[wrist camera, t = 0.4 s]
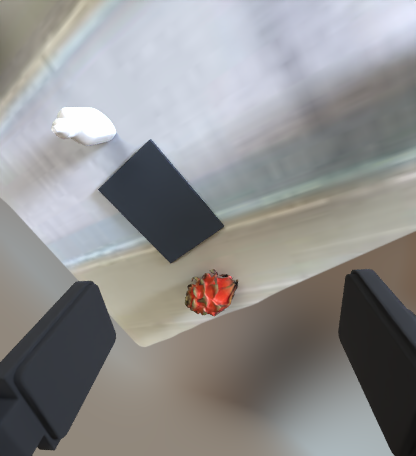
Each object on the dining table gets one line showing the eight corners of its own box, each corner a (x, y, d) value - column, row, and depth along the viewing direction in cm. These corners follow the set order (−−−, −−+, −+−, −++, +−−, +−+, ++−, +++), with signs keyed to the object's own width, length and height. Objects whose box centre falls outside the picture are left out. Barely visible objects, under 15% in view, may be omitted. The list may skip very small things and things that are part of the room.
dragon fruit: (185, 284, 56) (232, 262, 54) (199, 321, 54) (249, 299, 52) (170, 286, 48) (226, 260, 46) (186, 329, 46) (245, 303, 44)
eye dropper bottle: (97, 145, 43) (51, 156, 32) (82, 110, 41) (27, 110, 30) (119, 138, 42) (79, 147, 31) (105, 102, 40) (57, 99, 29)
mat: (99, 188, 46) (97, 189, 46) (151, 139, 42) (149, 139, 41) (171, 261, 52) (170, 263, 51) (223, 225, 47) (223, 226, 47)
